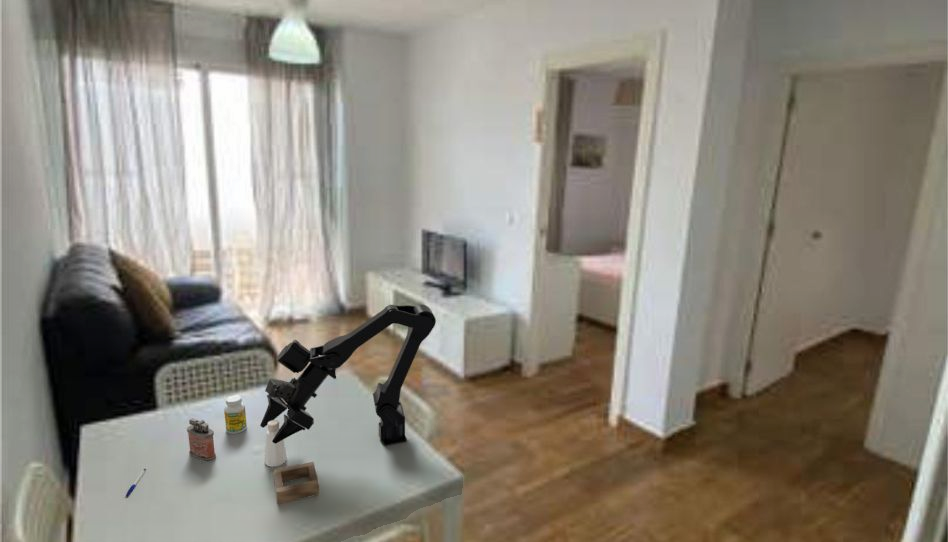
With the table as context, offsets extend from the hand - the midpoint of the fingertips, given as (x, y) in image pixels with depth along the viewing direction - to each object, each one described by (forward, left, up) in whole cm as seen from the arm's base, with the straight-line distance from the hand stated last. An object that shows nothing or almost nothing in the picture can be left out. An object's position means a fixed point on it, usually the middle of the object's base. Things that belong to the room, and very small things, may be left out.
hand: (267, 434), depth 133 cm
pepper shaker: (-2, 0, -8) cm, 8 cm away
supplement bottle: (+8, -20, -8) cm, 23 cm away
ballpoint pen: (+29, -3, -8) cm, 31 cm away
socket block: (-5, +13, -8) cm, 16 cm away
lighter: (+16, -9, -8) cm, 20 cm away
